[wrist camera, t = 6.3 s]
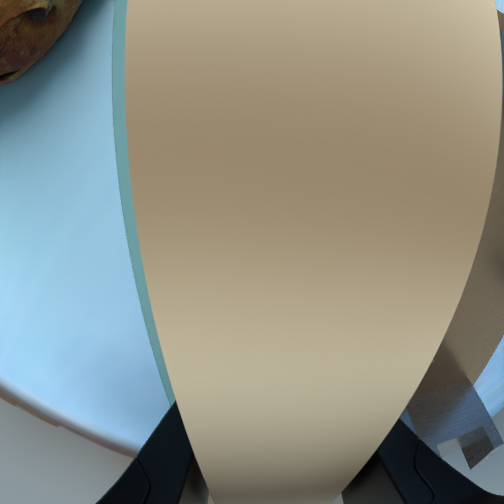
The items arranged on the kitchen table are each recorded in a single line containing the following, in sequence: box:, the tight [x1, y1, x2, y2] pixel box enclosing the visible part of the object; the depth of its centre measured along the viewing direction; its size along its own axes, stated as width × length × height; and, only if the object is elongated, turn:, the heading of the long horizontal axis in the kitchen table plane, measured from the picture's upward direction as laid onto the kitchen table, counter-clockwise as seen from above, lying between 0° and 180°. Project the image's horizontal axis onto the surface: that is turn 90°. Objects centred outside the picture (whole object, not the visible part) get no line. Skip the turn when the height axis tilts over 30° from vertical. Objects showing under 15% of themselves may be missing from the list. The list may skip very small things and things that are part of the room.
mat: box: [112, 0, 176, 407], centre depth 12 cm, size 10×26×1 cm, turn 0°
